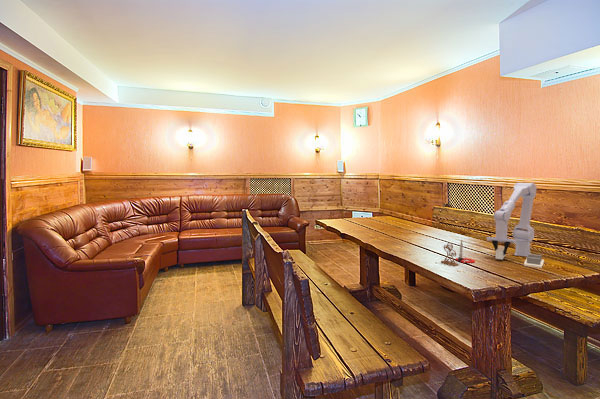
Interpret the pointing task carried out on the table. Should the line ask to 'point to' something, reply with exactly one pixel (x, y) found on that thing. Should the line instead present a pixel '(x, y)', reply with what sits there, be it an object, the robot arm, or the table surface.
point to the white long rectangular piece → (500, 252)
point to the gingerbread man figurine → (449, 255)
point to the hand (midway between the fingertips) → (500, 254)
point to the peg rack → (534, 261)
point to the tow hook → (463, 258)
